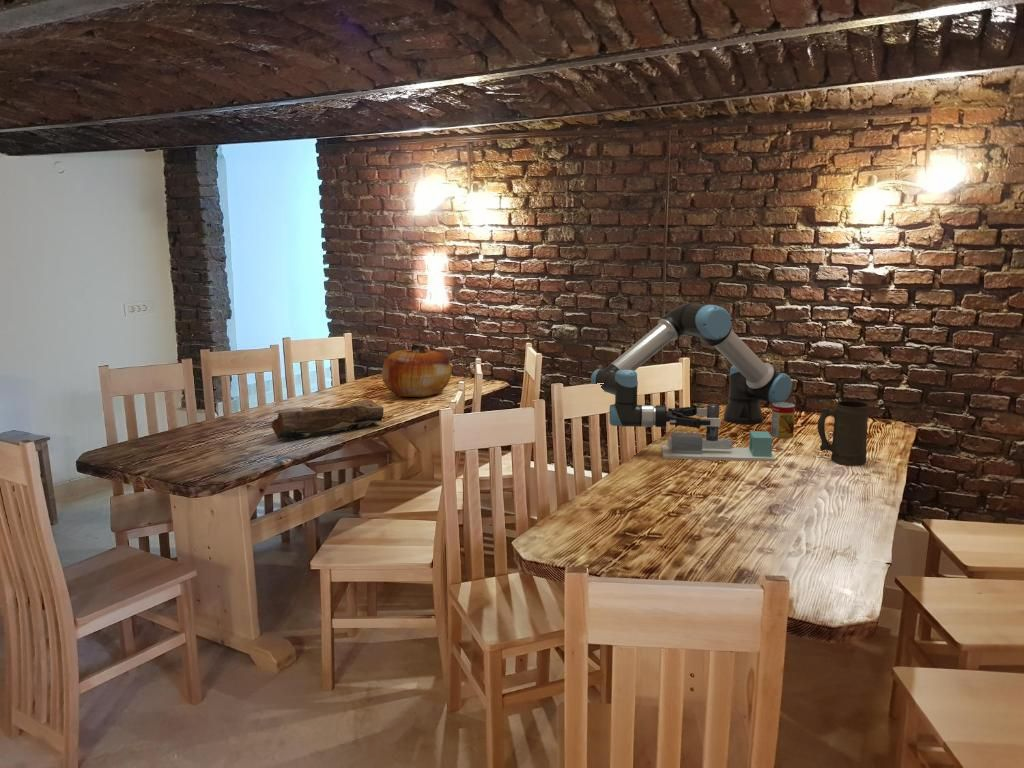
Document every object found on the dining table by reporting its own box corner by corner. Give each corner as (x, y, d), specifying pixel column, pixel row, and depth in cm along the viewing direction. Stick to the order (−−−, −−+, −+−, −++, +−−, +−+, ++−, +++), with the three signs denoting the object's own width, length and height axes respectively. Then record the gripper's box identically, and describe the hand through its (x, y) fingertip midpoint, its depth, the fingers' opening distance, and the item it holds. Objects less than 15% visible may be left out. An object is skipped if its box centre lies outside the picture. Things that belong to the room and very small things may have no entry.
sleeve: (671, 453, 253) (672, 436, 252) (671, 448, 259) (671, 432, 257) (701, 453, 251) (702, 437, 250) (700, 449, 257) (700, 432, 256)
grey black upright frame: (668, 448, 254) (669, 405, 251) (668, 445, 258) (669, 403, 255) (732, 450, 250) (733, 407, 247) (730, 446, 254) (732, 404, 251)
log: (277, 444, 275) (282, 405, 272) (264, 430, 289) (268, 393, 286) (382, 443, 299) (387, 407, 296) (366, 430, 313) (370, 396, 310)
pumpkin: (458, 388, 371) (454, 338, 367) (445, 400, 339) (441, 345, 335) (394, 391, 375) (389, 342, 371) (376, 403, 342) (371, 349, 338)
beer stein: (861, 456, 249) (862, 398, 245) (873, 466, 238) (874, 406, 234) (814, 458, 250) (813, 401, 246) (824, 468, 240) (824, 409, 236)
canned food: (797, 437, 273) (799, 405, 270) (780, 439, 270) (782, 407, 267) (782, 432, 280) (784, 401, 277) (766, 434, 277) (767, 403, 274)
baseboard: (663, 458, 251) (663, 455, 251) (661, 448, 262) (661, 445, 262) (775, 461, 245) (775, 458, 245) (768, 451, 257) (769, 448, 256)
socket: (752, 456, 248) (753, 437, 247) (749, 449, 256) (749, 431, 254) (771, 456, 247) (772, 438, 246) (767, 449, 255) (768, 431, 253)
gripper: (653, 417, 267) (713, 418, 264) (655, 436, 243) (722, 438, 239) (653, 397, 265) (714, 398, 262) (655, 414, 241) (722, 415, 238)
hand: (718, 417), depth 251 cm, fingers open, 13 cm apart
